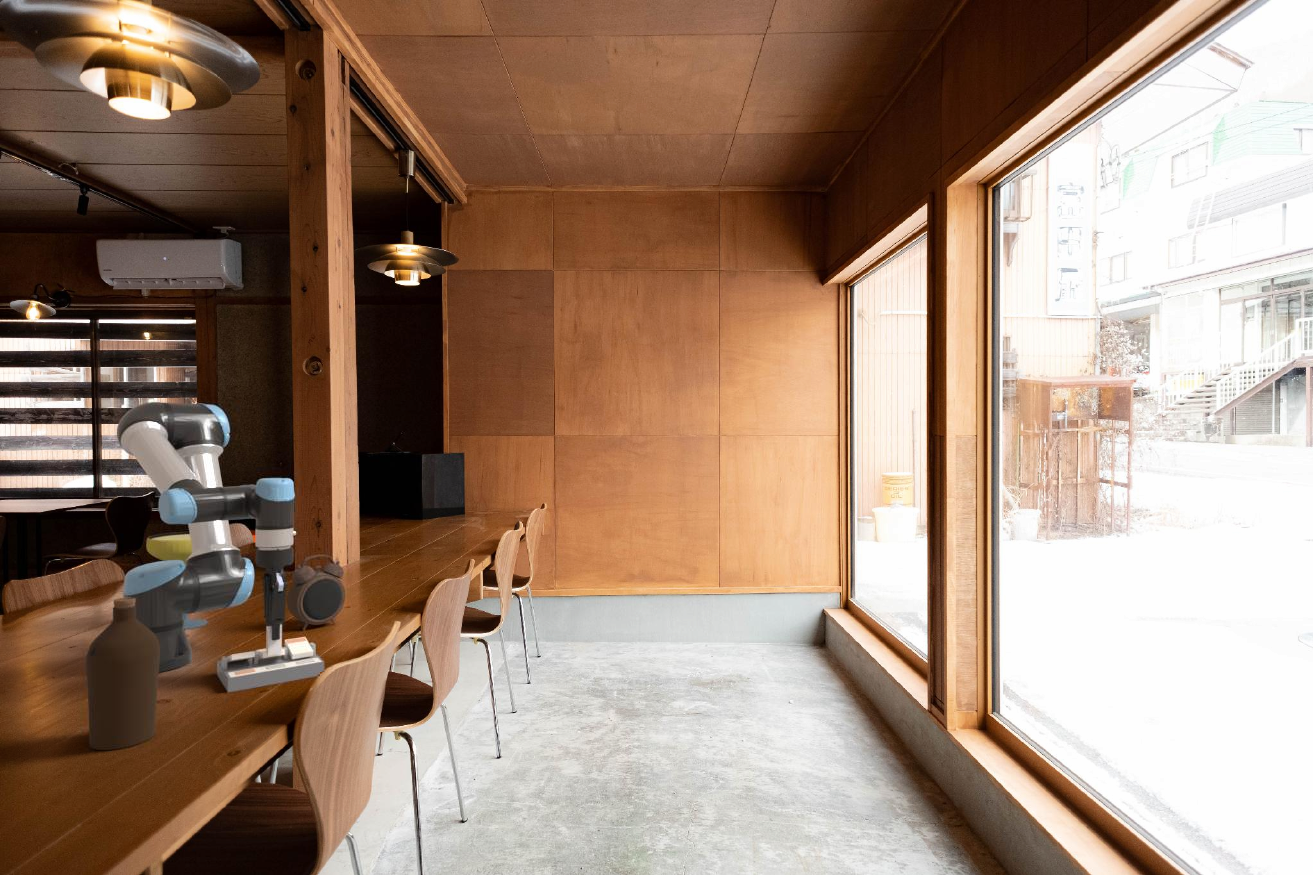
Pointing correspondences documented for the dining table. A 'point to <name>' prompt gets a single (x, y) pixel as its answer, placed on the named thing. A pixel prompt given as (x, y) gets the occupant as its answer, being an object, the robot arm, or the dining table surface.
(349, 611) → the dining table surface
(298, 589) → the alarm clock
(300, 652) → the right switch
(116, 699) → the olive oil
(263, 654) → the middle switch
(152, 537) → the cocktail glass
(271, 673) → the switch unit
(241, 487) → the robot arm
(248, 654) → the left switch
